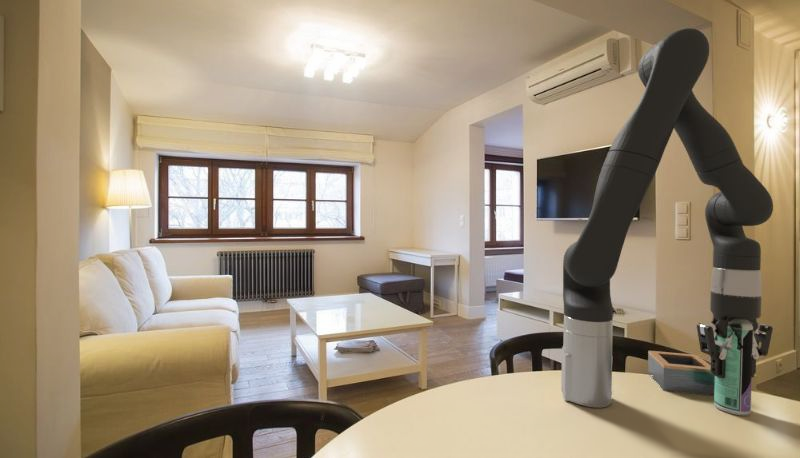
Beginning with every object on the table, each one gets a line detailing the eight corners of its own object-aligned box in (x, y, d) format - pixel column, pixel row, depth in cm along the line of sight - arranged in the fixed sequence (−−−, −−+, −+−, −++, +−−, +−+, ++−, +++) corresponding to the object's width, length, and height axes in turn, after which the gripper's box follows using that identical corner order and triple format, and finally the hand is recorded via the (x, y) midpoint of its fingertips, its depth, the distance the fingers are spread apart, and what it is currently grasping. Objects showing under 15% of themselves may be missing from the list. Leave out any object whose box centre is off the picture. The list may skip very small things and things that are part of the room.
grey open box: (663, 390, 84) (663, 365, 84) (647, 373, 94) (648, 350, 94) (717, 396, 81) (718, 370, 81) (695, 378, 91) (696, 354, 91)
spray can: (757, 416, 72) (760, 312, 72) (724, 413, 73) (727, 310, 73) (738, 403, 78) (741, 306, 77) (708, 400, 79) (710, 304, 78)
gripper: (717, 295, 71) (715, 385, 71) (789, 294, 72) (787, 383, 72) (685, 288, 78) (683, 369, 79) (750, 288, 79) (748, 368, 80)
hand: (733, 376), depth 75 cm, fingers closed on spray can, 5 cm apart
